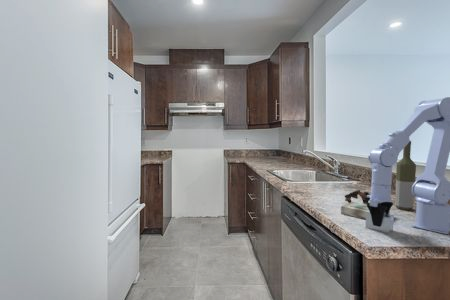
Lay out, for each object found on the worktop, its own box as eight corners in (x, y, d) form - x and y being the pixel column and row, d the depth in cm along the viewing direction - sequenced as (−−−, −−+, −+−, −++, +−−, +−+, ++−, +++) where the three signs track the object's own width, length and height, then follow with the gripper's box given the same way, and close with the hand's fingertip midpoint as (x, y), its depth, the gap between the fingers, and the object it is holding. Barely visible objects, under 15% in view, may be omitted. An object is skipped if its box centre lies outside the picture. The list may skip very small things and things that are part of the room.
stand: (389, 216, 102) (389, 207, 101) (379, 222, 93) (380, 213, 93) (352, 208, 112) (352, 201, 112) (340, 213, 104) (341, 205, 103)
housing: (393, 230, 85) (393, 212, 85) (389, 233, 82) (389, 215, 82) (369, 224, 91) (370, 208, 90) (365, 227, 87) (366, 210, 87)
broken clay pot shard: (362, 210, 110) (352, 193, 113) (347, 214, 119) (338, 198, 121) (380, 201, 115) (370, 184, 117) (364, 205, 123) (355, 190, 126)
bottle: (417, 211, 109) (420, 141, 108) (398, 210, 110) (402, 140, 109) (408, 207, 116) (412, 140, 115) (391, 206, 117) (394, 140, 116)
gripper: (375, 180, 94) (373, 217, 94) (360, 184, 84) (358, 225, 84) (397, 183, 88) (395, 221, 89) (385, 188, 79) (382, 231, 79)
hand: (379, 224), depth 86 cm, fingers closed on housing, 4 cm apart
